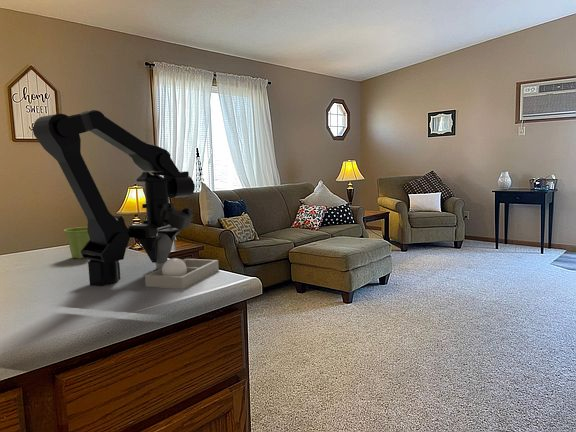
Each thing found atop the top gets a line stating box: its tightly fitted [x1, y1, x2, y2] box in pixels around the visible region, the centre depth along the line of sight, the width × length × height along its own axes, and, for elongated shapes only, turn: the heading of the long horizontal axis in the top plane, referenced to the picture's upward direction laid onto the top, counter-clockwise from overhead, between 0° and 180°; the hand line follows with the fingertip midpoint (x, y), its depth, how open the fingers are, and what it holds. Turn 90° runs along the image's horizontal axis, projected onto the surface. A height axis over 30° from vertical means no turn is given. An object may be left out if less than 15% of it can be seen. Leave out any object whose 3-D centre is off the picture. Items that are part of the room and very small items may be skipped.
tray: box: [144, 258, 220, 290], centre depth 102 cm, size 17×9×3 cm, turn 163°
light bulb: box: [155, 233, 173, 270], centre depth 112 cm, size 6×6×10 cm
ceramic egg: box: [162, 257, 187, 276], centre depth 98 cm, size 5×5×5 cm
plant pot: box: [63, 226, 90, 260], centre depth 134 cm, size 9×9×9 cm
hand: (160, 260), depth 112 cm, fingers closed on light bulb, 5 cm apart
